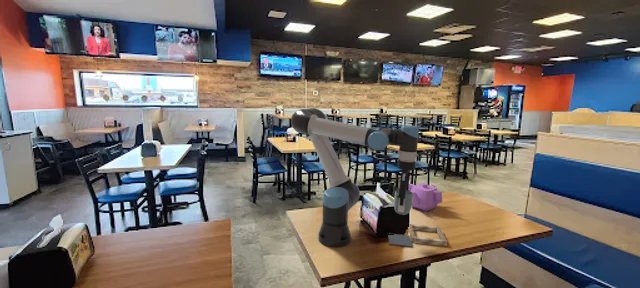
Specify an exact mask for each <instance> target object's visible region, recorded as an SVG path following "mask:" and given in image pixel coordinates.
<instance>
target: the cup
mask: <svg viewBox="0 0 640 288" xmlns="http://www.w3.org/2000/svg"><path fill="white" fill-rule="evenodd" d="M397 196H399V189H396V190H395V191H394V201H393V202H394V203H393V206H394V211H395V213H397V214H399V215H403V216H405V215H409V213H410V212H411V209H412V206H411V205H412V197H413V193H412V192H411V191H408V190H406V194H405V208H404V213H403V212H398V202H399V198H397ZM401 196H402V195H401Z"/></svg>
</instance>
